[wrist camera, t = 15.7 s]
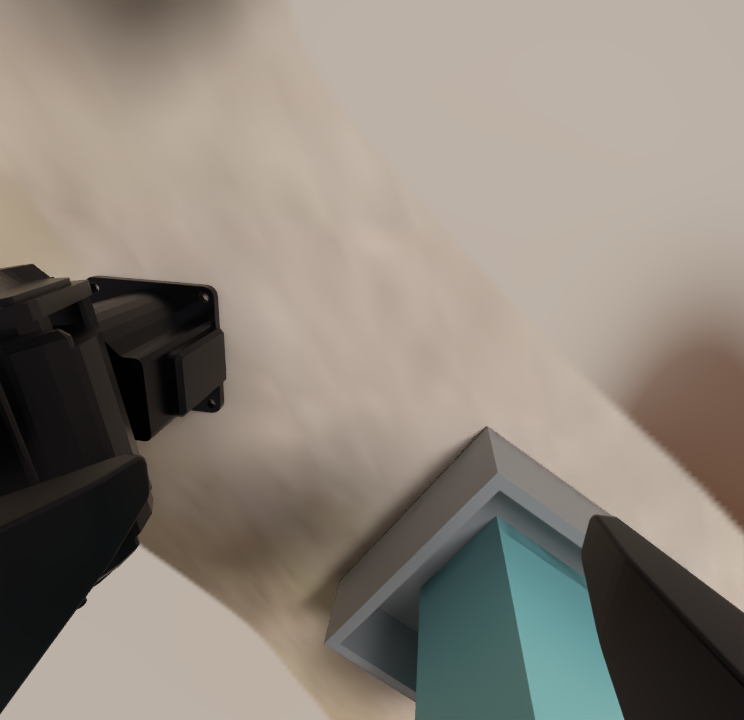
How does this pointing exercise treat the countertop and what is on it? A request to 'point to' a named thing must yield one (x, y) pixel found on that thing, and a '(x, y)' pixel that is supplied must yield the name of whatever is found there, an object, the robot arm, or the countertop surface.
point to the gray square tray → (448, 550)
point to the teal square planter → (509, 637)
